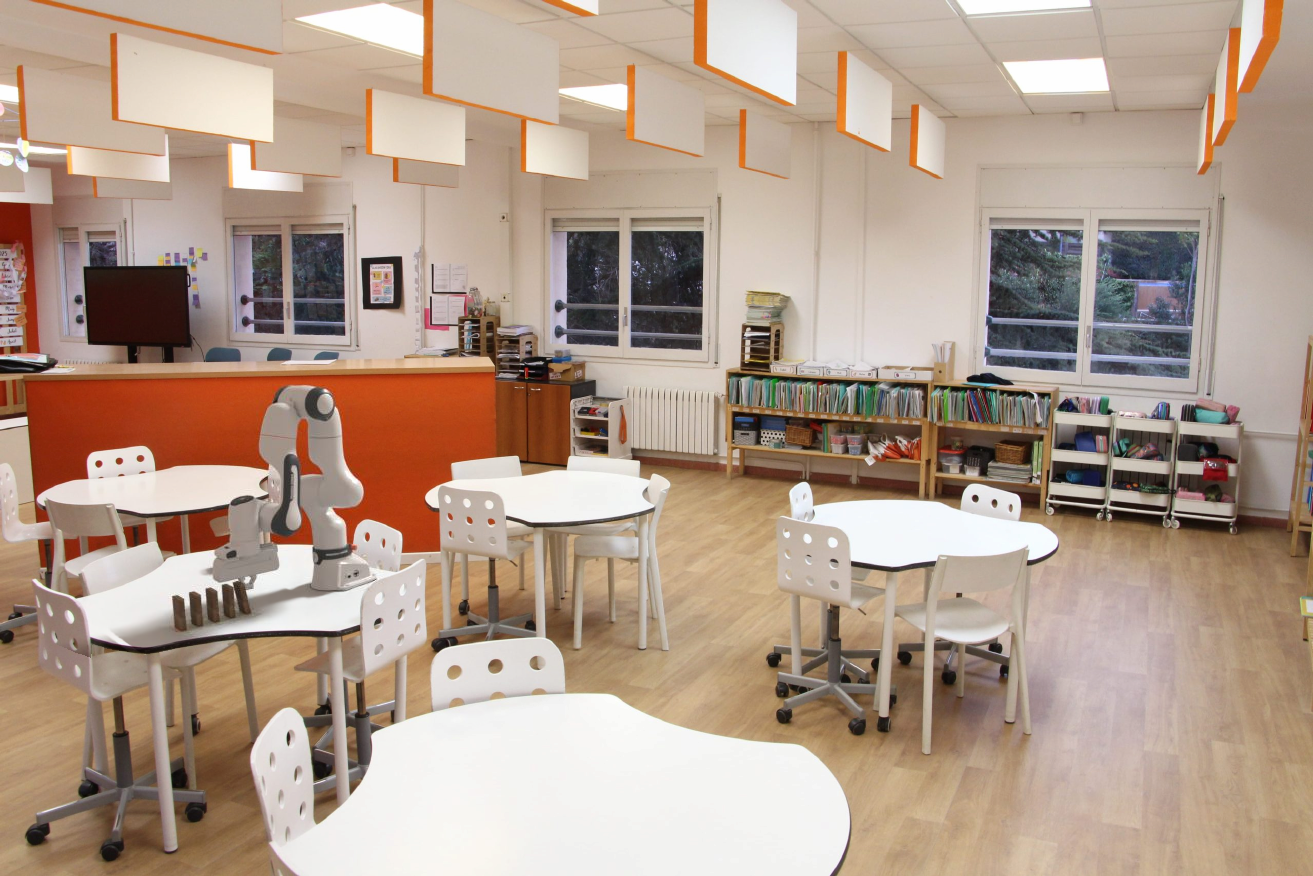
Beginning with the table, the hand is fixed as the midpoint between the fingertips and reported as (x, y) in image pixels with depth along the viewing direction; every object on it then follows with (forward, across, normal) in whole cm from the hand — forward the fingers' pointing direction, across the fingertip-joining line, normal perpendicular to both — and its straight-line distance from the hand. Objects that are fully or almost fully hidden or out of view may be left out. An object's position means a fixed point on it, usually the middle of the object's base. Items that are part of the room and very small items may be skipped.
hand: (248, 589), depth 308 cm
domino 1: (+7, +16, 0) cm, 18 cm away
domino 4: (+7, +1, 0) cm, 7 cm away
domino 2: (+7, +11, 0) cm, 14 cm away
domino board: (+8, +11, 0) cm, 14 cm away
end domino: (+7, +21, 0) cm, 22 cm away
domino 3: (+7, +6, 0) cm, 10 cm away
